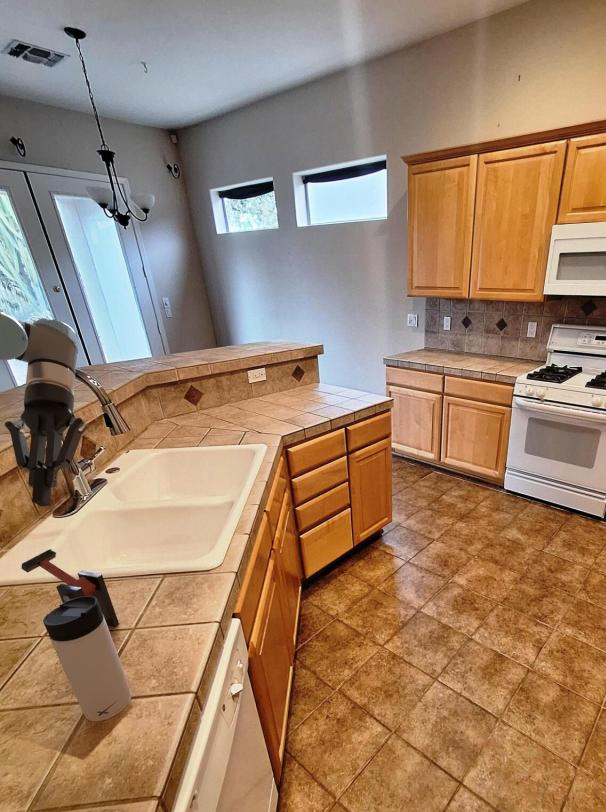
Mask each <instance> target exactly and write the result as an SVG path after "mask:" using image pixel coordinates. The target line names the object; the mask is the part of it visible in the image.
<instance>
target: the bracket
mask: <svg viewBox="0 0 606 812" xmlns="http://www.w3.org/2000/svg"><path fill="white" fill-rule="evenodd" d="M77 576H78V579H80V578H81V577H84V578H85V579H87V580H88V581H90V582H91V583H93V584H94V585H96V586H95V590H94V594H92V595H91V596H93V597H95V598H97V600H98V603H99V606H100V609H101V611H102V614H103V615H104V618H105V621H106V624H107V626H108V627H111V628H116V627H118V626H120V621H119V619H118V616H117V613H116V610H115V607H114V605H113V602H112V599H111V597H110V594H109V591H108V588H107V584H106V581H105V579H104V576H103V574H101V573H97V572H93V571H92V572H91V571H87V570H80V571H79V572H77ZM55 588H56V591H57V592H58V596H59V598H60V600H61V602H62V603H64V602H66V601H69V600H71V599H74V598H78V597H82V596H84V593H83V590H82V588H80V587H75V586H70V585H68V584H66V583H60V584H57V586H56V587H55Z"/></svg>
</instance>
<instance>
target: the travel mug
mask: <svg viewBox="0 0 606 812" xmlns="http://www.w3.org/2000/svg"><path fill="white" fill-rule="evenodd" d="M42 623H43V625H44V628H45V630H46V632H47V634H48V637H49V640H50V641H51V642H50V643H51V645H52V647H53V649H54V651H55V654H56V655H57V656H56V657H57V658H58V660H59V663H60V665H61V667H62V669H63V670H64V674H65V675H66V679H67V680H68V682H69V683H68V684H69V685H70V687H71V689H72V692H73V693H74V696H75V698H76V700H77V702H78V705H79V707H80V709H81V712H82V714H83V716H84V718H85V719H86V720H88V721H90V722H100V721H105V720H107V719H110V718H112V717H114V716H116V715H118V714H119V713H120V712H122V711H123V710H124V709H125V708H127V706H128V705H129V703H130V702H131V700H132V697H133V692H132V689H131V687H130V684H129V682H128V679H127V676H126V673H125V670H124V668H123V665H122V662H121V660H120V657H119V654H118V651H117V648H116V646H115V643H114V641H113V637H112V634H111V632H110V630H109V626H107V624H106V621H105V618H104V615H103V614H102V611H101V609H100V606H99V603H98V600H97V598H95V597H93V596H82V597H78V598H74V599H71V600H69V601H66V602H64V603H63V602H62V603H61V604H59V605H58V607H56V608H54V609H53V610H52V611H50V612H49V613H46V615H45V616H44V617H43V619H42Z"/></svg>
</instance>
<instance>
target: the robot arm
mask: <svg viewBox="0 0 606 812" xmlns="http://www.w3.org/2000/svg"><path fill="white" fill-rule="evenodd" d="M78 353H79V349H78V336H77V333H76V331H75V330H74V329H73V328H72V327H71V326H70V325H69V324H66V323H65V322H63V321H61V320H58V319H55V318H54V319H53V318H52V319H49V318H47V317H43V318H38V319H35V320H34V321H33V323H30V322H27V321H23V320H20V319H18V318H15V317H13V316H11V315H10V314H9V313H5V312H3V311H1V310H0V361H11V360H17V361H21V362H24V363H27V369H26V377H25V378H26V379H25V389H24V397H23V411H22V413H21V415H20V418H19V419H17V420H15V421H13V422H12V421H11V420H8V421H6V422H4V427H5V428H6V429H7V430H8V431H9V433H10V438H11V443H12V447H13V453H14V457H15V462H16V465H17V466H18V467H19V468H21V469H22V470H24V471H26V472H28V483H27V484H28V486H29V487H30V488H32V493H31V503H33V504H34V505H37V506H39V507H50V506H51V498H52V488H56V487H57V485H58V474H59V472H60V470H63V469H70V468H71V466H72V462H73V460H74V458H75V455H76V453H77V449H78V446H79V443H80V441H81V438H82V435H84V433H85V432H86V431H87V430H88V428H89V425H88V424H87V422H85V421H84V420H83V419H82V418H81V417H76V415H74V407H75V389H76V370H77V361H78V360H77V359H78ZM25 427H27V428H28V429H29V434H30V436H31V437H30V442H29V443H30V445H29V446H28V442H27V437H26V435H25V434H24V433H26V428H25ZM66 430H67V432H66V434H65V436H64V432H65V431H66Z"/></svg>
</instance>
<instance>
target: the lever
mask: <svg viewBox="0 0 606 812" xmlns="http://www.w3.org/2000/svg"><path fill="white" fill-rule="evenodd" d="M56 556H57V552H56V551H55V550H53V549H51V548H49V549H46V550H45V551H43V552H41V553H38V555H35V556H34V557H32V558H30V559H28V560H26V561H24V562H22V563H21V568H20V569H21V570H22V571H24V572H26V573H30V572H31V571H34V570H36V569H38V568H39V567H40V568H41V569H43V570H44V571H46V572H48V573H49V574H50V575H52V576H54V577H55V578H57V579H58V580H60V581H61V582H63V584H65V585H70V586H75V587H80V588H82V590H83V593H84V596H91V595H92V594H94V590H95V586H96V585H94V584H93V583H91V582H90V581H88V580H87V579H85V578H84V577H81V578H80V579H79V578H78V579H76V577H74V576H72V575H71V574H69V573H67V572H66V571H65V570H63V569H62V568H60V567H58V566H57V565H55V564H53V563H52V562H51V560H54V559H55V558H56Z"/></svg>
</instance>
